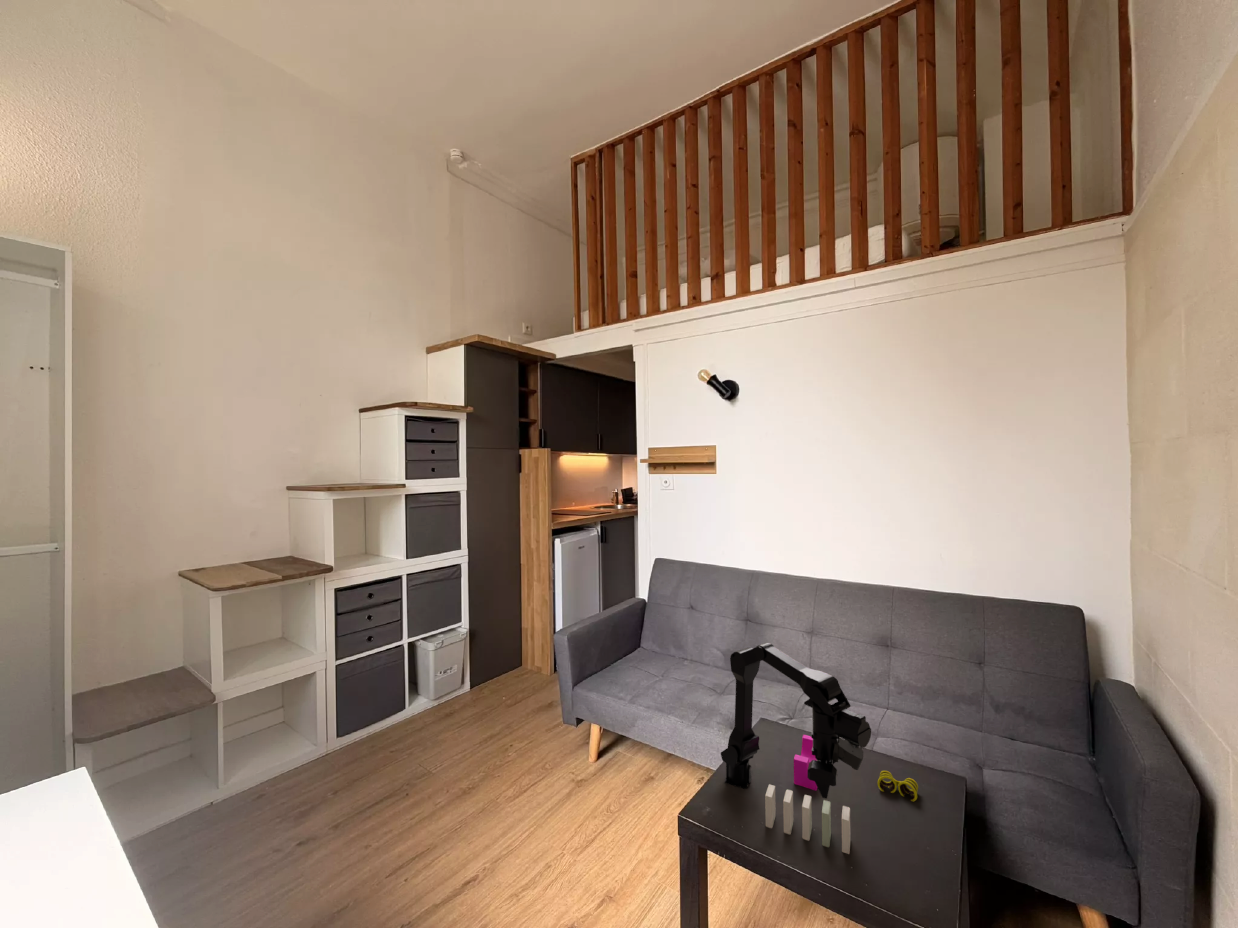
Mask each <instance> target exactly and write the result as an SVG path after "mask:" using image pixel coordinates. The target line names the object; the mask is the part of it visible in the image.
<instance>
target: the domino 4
mask: <svg viewBox="0 0 1238 928" xmlns="http://www.w3.org/2000/svg"><path fill="white" fill-rule="evenodd" d="M850 849H851V808H850V807H849V806H846V805H842V812H841V852H842V853H844V854H848V855H850V852H851V851H850Z"/></svg>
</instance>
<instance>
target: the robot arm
mask: <svg viewBox="0 0 1238 928" xmlns="http://www.w3.org/2000/svg"><path fill="white" fill-rule="evenodd" d="M729 658H730V659H729V662H730V671H731V673H732V675H733V677H734V678H735V698H734V700H735V701H734V727H733V729H732V730H731V733H730V735H729V737H728V741H727V743H728V744H727V748H725V749H723V750H722V751H721V752H720V756H721V760H722V761H723V762H724V763H725V778H724V783H725V784H728V785H731V786H734V787H738V788H740V789H744V790H745V789H747V788H748V785H750V783H751V782H752V765H751V764H750V760H751V759H753V758H754V756H755V755H756V754H757V753H758V751H759V750H760V745H759V744H760V736H759V735H757V734H755V732H754V730H753V704H754V703H753V700H754V681H755V679H756V677H757V675H758V673H759V669H760V665H761V661H763V662H764V663H766V664H767V665H768V666H770V667H772V669H773V668H774V669H775V670H776V671H778V672H780V673H781V674H782V675H784V676H785V677H786V678H789V679H790V680H792V682H795V683H796V684H797V685H798V686H799V687H800V688H801V690H802V692H803V693H804V695H806V696H807V697H808V699H807V700H806V701H804V702H803V704H804V705H805V706H807V707H809V708H811V710H812V711H811V713H812V716H811V717H812V722H811V723H812V731H811V737H812V738H813V748H812V755H815V757H816V760H817V761H816V760H812V761H811V762H809V766H808V770H807V771H808V779H809V780H812V781H815V783H816V785H817V787H818V788H817V790H818V791H819V793H820V796H821V798H823V799H826V800H827V799H828V796H829V791H830V786H831V787H836V786H837V780H838V769H837V768H836V767H835V765H834V764H836V763H839V761H841V762H842V763H844V764H846V765H848V766H849V767H850V768H852V769H853V770H856V771H859V770H860V766H861V765H862V761H863V759H864V750H863V749H864V748H865V747H867V746H868V744H869V742H870V740H871V736H872V728H871V725H870V723H869V722H868V721H866V720H867V719H866V718H867V716H866V715H863V714H861V713H857V712H855V711H852V710H849V708H851V707H852V705H851V703H850V702H849V699H848V698H847V696H846V695H845V692H843V690H842V688H841V686H840V684H839V681H838V679H837V678H836V677H835V676H833V675H832V674H829V673H826V672H825V671H822V670H818V669H813V668H810V667H808V666H805V664H802V663H801V662H799V661H797V660H796V659H794V658H793V657H791V656H790V655H788V654H786V653H785V652H783V651H782V650H780V649H778V648H777V647H775V646H774V644H772V643H770V642H764V643H762V644H758V645H757V646H755V647H754V648H753V647H745V648H742V649H740V650H737V651H734V652H732V653H731V654H730V657H729ZM834 700H836V702H834V703H832V704H831V703H830V702H833V701H834Z"/></svg>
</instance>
